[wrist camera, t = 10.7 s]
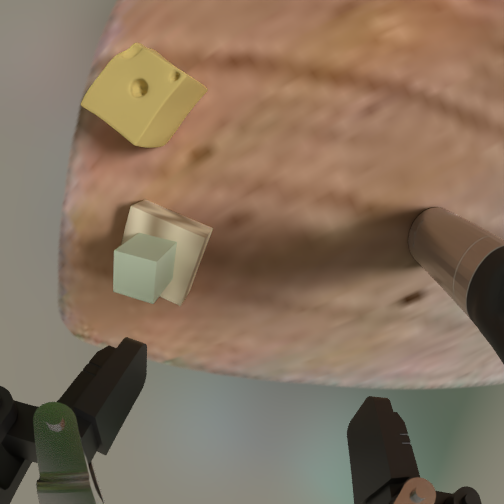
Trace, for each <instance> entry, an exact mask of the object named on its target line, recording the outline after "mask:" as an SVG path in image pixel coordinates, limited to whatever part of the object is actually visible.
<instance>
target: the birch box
mask: <svg viewBox="0 0 504 504" xmlns="http://www.w3.org/2000/svg"><path fill="white" fill-rule="evenodd" d="M212 230H213V228H211V227H209V226H207V225H204V224H202V223H200V222H197V221H195V220H193V219H190V218H188V217H186V216H183V215H181V214H179V213H176V212H174V211H171V210H169V209H167V208H164V207H162V206H160V205H157V204H155V203H153V202H150V201H148V200H143V201H141V202H138V203H136V204H134V205H132V206H131V207H130V211H129V215H128V219H127V222H126V226H125V230H124V235H123V239H122V243H121V245H122V244H124V243H125V242H127V241H128V240H130V239H131V238H133V237H134V236H136V235H137V234H138V233H142V234H146V235H150V236H154V237H159V238H163V239H167V240H171V241H175V242H177V246H176V254H175V262H174V270H173V279H172V281H171V282H170V283H169V284H168V286H167V287H166V288H165V290H164V291H163V292H162V293H161V295H160V297H162V298H164V299H166V300H168V301H171V302H173V303H175V304H177V305H179V306H181V305H182V303H183V301H184V300H185V298H186V297H187V295H188V293H189V292H190V289H191V287H192V284H193V281H194V278H195V276H196V273H197V270H198V267H199V265H200V262H201V259H202V257H203V254H204V251H205V249H206V246H207V243H208V241H209V238H210V236H211V233H212Z"/></svg>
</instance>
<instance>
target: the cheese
mask: <svg viewBox="0 0 504 504" xmlns="http://www.w3.org/2000/svg"><path fill="white" fill-rule="evenodd" d="M207 90H208V89H207V88H206V87H205V86H204V85H202V84H201V83H199V82H198V81H196V80H195V79H194V78H192V77H191V76H189V75H188V74H186V73H184V72H183V71H181V70H180V69H178V68H176V67H175V66H174V65H172V64H171V63H170V62H168V61H167V60H166V59H165V58H164V57H162V56H161V55H160V54H159V53H158V52H157V51H155V50H153V49H151V48H149V49H148V48H146V47H145V46H144V45H142V44H140V43H134V44H133V45H132V46H131V47H130V48H129V49H127V50H126V51H124V52H121V53H119V54H117V55H116V56H115V57H114V58H113V59H112V60H111V61H110V62H109V63H108V65H107V66H106V67H105V69H104V70H103V71H102V72H101V74H100V75H99V76H98V77H97V79H96V80H95V81H94V83H93V84H92V85H91V87H90V88H89V90H88V91H87V93H86V94H85V96H84V98H83V100H82V102H81V106H82V107H84V108H85V109H87V110H88V111H90V112H92V113H93V114H95V115H96V116H98V117H99V118H101V119H102V120H104V121H105V122H106V123H107V124H109V125H110V126H111V127H112V128H113V129H115V130H116V131H117V132H119V133H120V134H121V135H122V136H123V137H125V138H126V139H127V140H128V141H129V142H131V143H132V144H133V145H135V146H139V147H146V148H154V147H161V146H164V145H166V144H167V142H168V141H169V140H170V139H171V137H172V136H173V135H174V133H175V132H176V130H177V129H178V128H179V126H180V125H181V123H182V122H183V120H184V119H185V117H186V116H187V115H188V113H189V112H190V111H191V110H192V108H193V107H194V106H195V105H196V103H197V102H198V101H199V100H200V99H201V98H202V96H203V95H204V94H205V93H206V92H207Z"/></svg>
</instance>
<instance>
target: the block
mask: <svg viewBox="0 0 504 504" xmlns="http://www.w3.org/2000/svg"><path fill="white" fill-rule="evenodd" d="M176 246H177V242H175V241H171V240H167V239H163V238H159V237H154V236H150V235H146V234H142V233H138V234H137V235H136V236H134V237H133V238H131V239H130V240H128V241H127V242H125V243H124V244H122V245H121V246H119V247H118V248H117V249H115V250H114V271H113V292H116V293H120V294H123V295H126V296H129V297H132V298H135V299H138V300H142V301H145V302H148V303H152V304H154V303H155V301H156V300H157V299H158V297H159V296H160V295H161V293H162V292H163V291H164V290H165V288H166V287H167V286H168V284H169V283H170V282H171V281H172V279H173V270H174V262H175V254H176Z"/></svg>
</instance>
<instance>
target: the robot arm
mask: <svg viewBox="0 0 504 504" xmlns="http://www.w3.org/2000/svg"><path fill="white" fill-rule="evenodd" d="M408 243H409V249H410V252H411V255H412V256H413V258H414V259H415V260H416V261H417V262H418V263H419V264H420V265H421V266H422V267H423V268H424V269H425V270H426V271H427V272H428V274H429V275H430V276H431V277H432V278H433V279H434V280H435V281H436V282H437V283H438V284H439V285H440V286H441V287H442V288H443V289H444V290H445V291H446V292H447V294H448V295H449V296H450V297H451V298H452V299H453V300H454V301H455V302H456V303H457V305H458V306H459V307H460V308H461V309H462V310H463V311H464V312H465V313H466V314H467V316H468V317H469V318H470V319H471V320H472V321H473V323H474V324H475V325H476V326H477V327H478V329H479V330H480V332H481V333H482V334H483V336H484V337H485V338H486V339H487V341H488V342H489V343H490V345H491V346H492V347H493V349H494V350H495V352H496V353H497V355H498V356H499V358H500V359H501V361H502V362H503V364H504V240H503V239H501V238H499V237H497V236H496V235H494V234H492V233H490V232H489V231H487V230H485V229H483V228H481V227H479V226H477V225H475V224H474V223H472V222H470V221H468V220H466V219H464V218H462V217H460V216H458V215H456V214H454V213H452V212H450V211H448V210H446V209H443V208H439V207H435V208H430V209H427V210H425V211H424V212H422V213H421V214H420V215H419V216H418V217H417V218H416V219H415V221H414V222H413V224H412V226H411V229H410V232H409V239H408ZM146 367H147V345H146V344H144V343H142V342H139V341H136V340H133V339H130V338H128V337H126V338H124V339H123V341H122V342H121V343H120V344H119V346H118V347H117V348H114V347H111V346H107V347H106V348H104V349H102V350H100V351H98V352H97V353H96V354H95V355H94V357H93V358H92V359H91V360H90V362H89V364H87V365H86V366H85V368H84V369H83V371H82V372H81V373H80V374H79V375H78V377H77V378H76V379H75V380H74V381H73V383H72V384H71V385H70V387H69V388H68V389H67V391H66V392H65V393H64V394H63V395H62V397H61V398H60V399H59V400H58V401H57V402H48V403H45V404H42V405H41V406H40V407H36V406H32V405H28V404H25V403H21V402H18V401H14V400H13V398H12V396H11V394H10V392H9V391H8V390H7V389H5V388H4V387H1V386H0V504H10V502H11V500H12V498H13V496H14V494H15V492H16V490H17V488H18V487H19V485H20V483H21V481H22V479H23V477H24V475H25V474H26V472H27V470H28V468H29V466H30V464H31V463H32V462H36V463H38V467H39V473H40V478H39V480H37V483H36V486H37V494H38V499H39V503H40V504H105V501H104V499H103V496H102V493H101V489H100V486H99V483H98V480H97V477H96V473H95V470H94V466H93V463H92V459H93V457H94V455H95V453H96V451H98V452H100V453H102V454H104V455H107V453H108V451H109V449H110V447H111V445H112V443H113V441H114V440H115V438H116V436H117V434H118V432H119V430H120V428H121V427H122V425H123V423H124V421H125V419H126V417H127V416H128V414H129V412H130V410H131V408H132V406H133V405H134V403H135V401H136V399H137V397H138V396H139V394H140V392H141V390H142V388H143V386H144V383H145V379H146ZM407 434H408V432H407V429H406V426H405V422H404V421H403V420H402V418H401V417H400V416H399V414H398V413H397V412H393V409H392V406H391V403H390V400H389V399H388V398H381V397H372V396H369V397H367V398H366V400H365V401H364V403H363V404H362V405H361V407H360V408H359V410H358V411H357V413H356V414H355V416H354V417H353V419H352V420H351V421H350V423H349V426H348V430H347V438H348V446H349V456H350V464H351V474H352V484H353V493H354V504H481V500H480V497H479V495H478V493H477V492H476V491H475V490H474V489H473V488H471V487H462V488H460V489H458V490H457V491H456V492H455V493H453V494H450V493H444V492H439V491H435V489H434V487H433V485H432V484H431V483H430V482H429V481H427V480H426V479H424V478H420V475H419V472H418V468H417V464H416V460H415V457H414V453H413V449H412V446H411V445H410V439H409V436H407Z"/></svg>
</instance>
